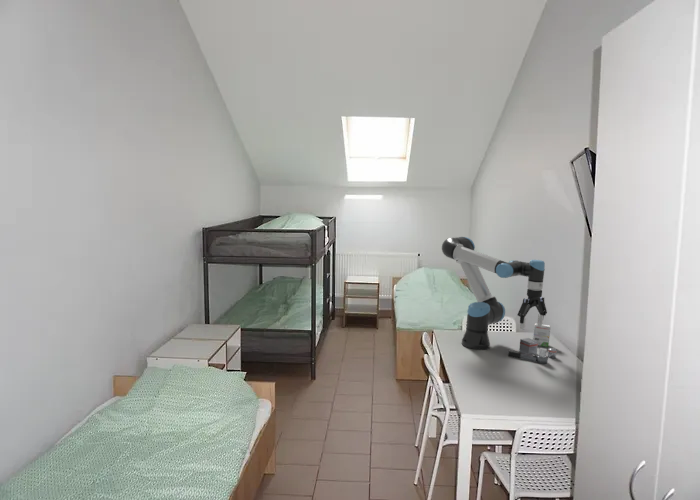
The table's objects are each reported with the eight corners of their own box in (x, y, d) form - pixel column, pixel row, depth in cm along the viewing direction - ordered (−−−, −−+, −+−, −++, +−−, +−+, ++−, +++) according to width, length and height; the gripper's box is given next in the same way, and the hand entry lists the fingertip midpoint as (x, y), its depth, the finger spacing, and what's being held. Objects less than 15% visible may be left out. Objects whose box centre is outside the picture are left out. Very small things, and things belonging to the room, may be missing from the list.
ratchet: (507, 356, 271) (509, 343, 270) (510, 353, 276) (511, 341, 275) (546, 365, 262) (547, 351, 261) (548, 361, 267) (549, 348, 266)
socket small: (546, 357, 274) (547, 349, 273) (548, 355, 277) (549, 347, 277) (555, 359, 272) (556, 350, 271) (556, 357, 275) (557, 348, 275)
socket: (518, 351, 281) (520, 339, 280) (527, 350, 284) (528, 337, 283) (528, 355, 275) (529, 342, 274) (536, 354, 278) (538, 341, 277)
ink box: (548, 344, 296) (550, 324, 295) (548, 347, 292) (550, 327, 290) (532, 342, 299) (534, 322, 297) (532, 344, 294) (534, 324, 293)
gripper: (524, 292, 265) (520, 332, 268) (556, 289, 278) (552, 327, 280) (512, 289, 272) (509, 328, 274) (544, 286, 284) (541, 323, 287)
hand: (531, 328), depth 277 cm, fingers open, 13 cm apart
